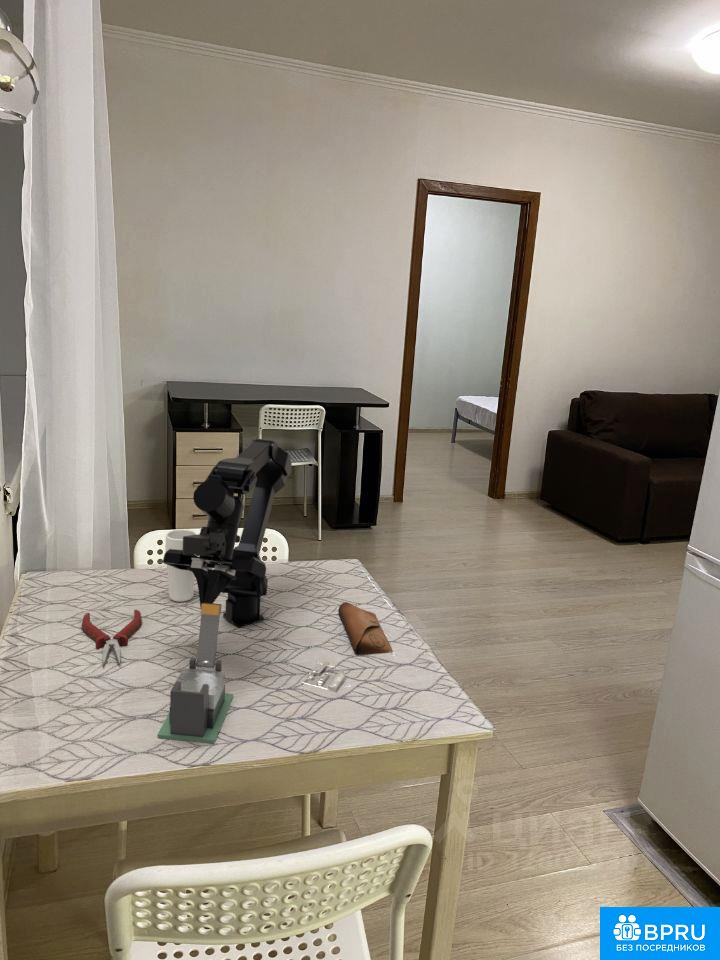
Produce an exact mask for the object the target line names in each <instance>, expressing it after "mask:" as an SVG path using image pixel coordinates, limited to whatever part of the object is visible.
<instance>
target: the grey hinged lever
mask: <svg viewBox="0 0 720 960" xmlns="http://www.w3.org/2000/svg"><path fill="white" fill-rule="evenodd" d="M222 606H223V605H222V603H215V602H214V603H202V606H201V608H200V623H199V624H200V625H199V626H200V627H199V632H198V633H199V634H198V642H197V643H198V644H197V653H196V668H197V667H200V668H209V669H215V664H216V657H217V645H218V638H219V628H220V619H221V618H220V616H221V614H222Z"/></svg>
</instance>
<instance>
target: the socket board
mask: <svg viewBox="0 0 720 960" xmlns="http://www.w3.org/2000/svg"><path fill="white" fill-rule="evenodd" d="M196 661H197V657H190V659H189V666H188V667H189V668H188V669H197V666H196ZM222 662H223V660H220V659H217V660H215V667H214V669H215V670H214V671H219V672H222V665H223V664H222ZM169 691H170V692H169V694H170V702H169V703H170V706H169V708H170V724H169V713H168V715H167V716H166V718H165V720H164V722H163V723H162V725H161V727H160V728H159V731H158V733H157V734H156V735H157V739H164V740H175V741H185V742H197V743H205V744H206V743H207V744H215V743H216V740H217V738H218V737H219V734H218V733H220V731H221V728H222V726H223V723H224V721H225V718H226V716H227V714H228V711H229V708H230V706H231V704H232V701H233V698H234V694H233V693H228V692H225V701H224V703H223V706H222V708H221V710H220V713H219V715H218V717H217V720H216V722H215V725H214V727H213V729H212V728H207V713H208V694H209V685H208V684H203V686H202V688H201V690H200V692H189V691H181V682H177V680H175V683H174V684H173V686H172V688H171V690H169Z"/></svg>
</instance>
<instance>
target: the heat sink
mask: <svg viewBox="0 0 720 960" xmlns="http://www.w3.org/2000/svg"><path fill="white" fill-rule="evenodd" d="M225 673H226V672H225V671H221V672H219V671H215V670H207V669H197V668H196V669H189V668H188V667H187V668H183V669H182V670H181V671H180V674H179V675H178V677H177V679H176V681H177V682H181V691H189V692H200V690H201V688H202V686H203V684H208V685H209V694H208V713H207V728H212V729H213V727H214V725H215V722H216V720H217V717H218V715H219V713H220V710H221V708H222V706H223V703H224V701H225V693H226V684H225V683H226V682H225V679H226V677H225V676H226V675H225ZM168 711H169V713H168V714H169V724H170V707H169V710H168Z"/></svg>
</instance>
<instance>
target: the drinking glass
mask: <svg viewBox="0 0 720 960" xmlns="http://www.w3.org/2000/svg"><path fill="white" fill-rule="evenodd" d="M189 535H198V534H197V532H196V531H195V530H194V531H193V530H191V529H184V528H183V529H182V528H181V529H180V528H179V529H175V530H169V531H168V532H166V534H165V547H164V548H165V553H166V552H167V551H168V550H169V549H175V550H183V536H189ZM194 555H195V554H194ZM196 556H197V555H196ZM166 570H167V583H168V597H169V599H170V600H171V601H174V602H179V603H180V602H181V603H182V602H187V601H190V600H191V599H193V598H194V593H195V592H194V589H195V588H194V587H195V580H196V578H195V576H194V574H193V572H191V571H188V570H180V569H177V568H174V567H172V566H169V565H167V564H166Z"/></svg>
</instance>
